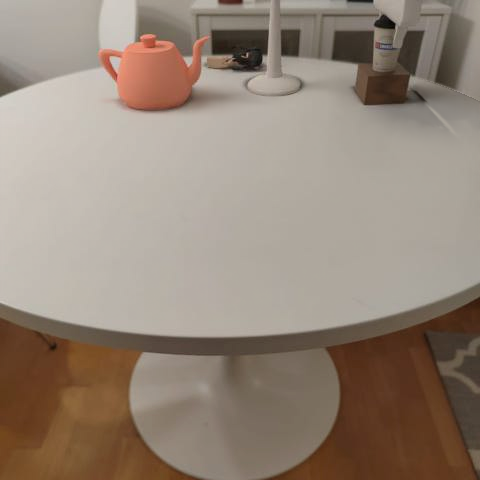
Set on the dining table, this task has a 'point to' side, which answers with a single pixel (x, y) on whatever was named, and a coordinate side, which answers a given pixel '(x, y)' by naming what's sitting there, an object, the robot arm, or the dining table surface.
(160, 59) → the teapot
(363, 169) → the dining table surface
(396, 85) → the walnut block
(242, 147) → the dining table surface
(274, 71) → the candlestick
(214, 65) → the toy figure
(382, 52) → the coffee cup
